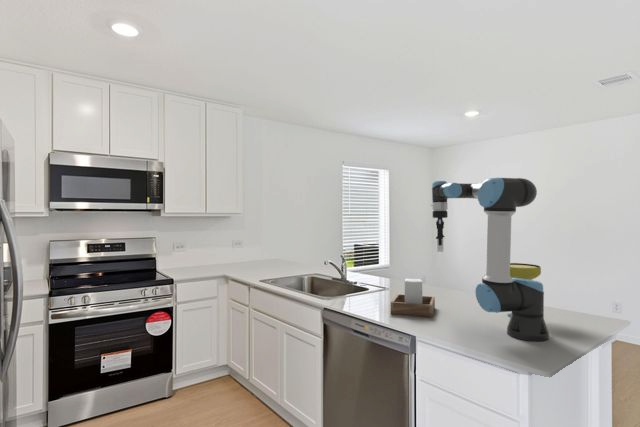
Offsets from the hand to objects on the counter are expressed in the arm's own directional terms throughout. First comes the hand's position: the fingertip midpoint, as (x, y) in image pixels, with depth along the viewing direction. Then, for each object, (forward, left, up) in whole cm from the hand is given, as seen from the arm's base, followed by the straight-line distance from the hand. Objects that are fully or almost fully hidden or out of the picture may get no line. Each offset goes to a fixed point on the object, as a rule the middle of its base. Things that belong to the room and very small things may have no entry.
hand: (440, 250), depth 197 cm
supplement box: (-8, +13, -30) cm, 34 cm away
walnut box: (-8, +13, -31) cm, 35 cm away
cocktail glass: (-2, -37, -31) cm, 48 cm away
